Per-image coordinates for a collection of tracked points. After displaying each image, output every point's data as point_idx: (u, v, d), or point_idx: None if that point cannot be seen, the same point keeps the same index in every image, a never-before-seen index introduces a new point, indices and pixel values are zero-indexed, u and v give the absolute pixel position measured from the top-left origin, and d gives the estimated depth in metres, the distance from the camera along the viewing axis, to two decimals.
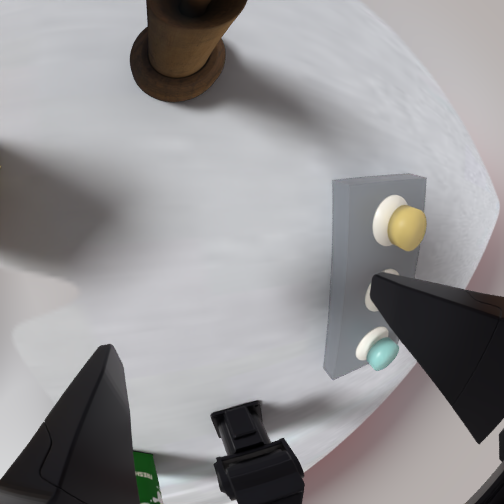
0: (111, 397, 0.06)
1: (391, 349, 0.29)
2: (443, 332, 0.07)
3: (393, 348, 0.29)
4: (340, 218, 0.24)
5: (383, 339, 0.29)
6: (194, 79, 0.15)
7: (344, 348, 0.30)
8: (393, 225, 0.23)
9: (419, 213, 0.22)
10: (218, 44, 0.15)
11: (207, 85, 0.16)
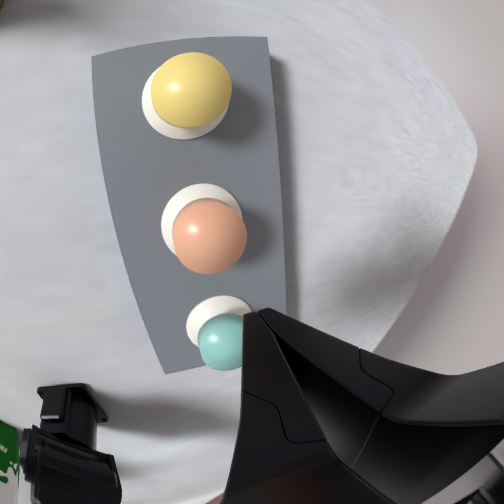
0: None
1: (234, 335, 0.18)
2: (319, 400, 0.06)
3: (239, 334, 0.18)
4: None
5: (221, 315, 0.19)
6: None
7: (157, 323, 0.19)
8: None
9: (203, 59, 0.11)
10: None
11: None
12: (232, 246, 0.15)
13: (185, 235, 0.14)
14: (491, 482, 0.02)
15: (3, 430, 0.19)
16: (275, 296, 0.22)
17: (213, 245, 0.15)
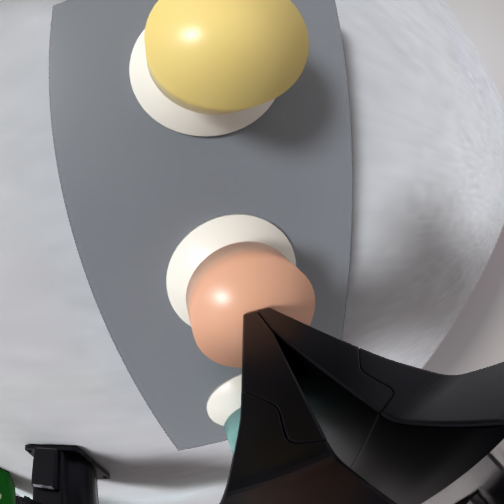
0: None
1: None
2: (318, 401, 0.05)
3: None
4: None
5: None
6: None
7: (166, 405, 0.13)
8: None
9: None
10: None
11: None
12: None
13: (213, 317, 0.08)
14: (490, 482, 0.02)
15: None
16: None
17: None
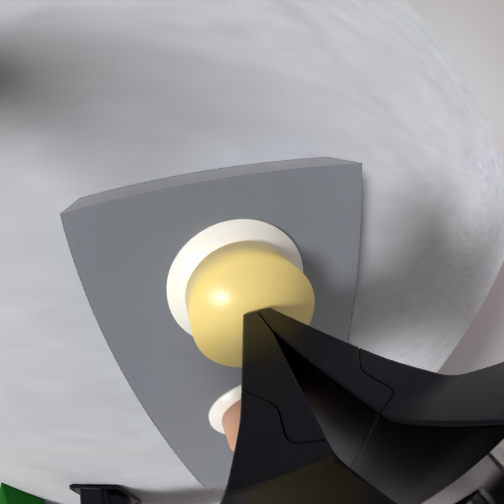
0: None
1: None
2: (319, 400, 0.06)
3: None
4: None
5: None
6: None
7: (202, 468, 0.15)
8: (187, 305, 0.09)
9: (275, 272, 0.08)
10: None
11: None
12: None
13: None
14: (490, 482, 0.02)
15: (32, 502, 0.15)
16: None
17: None
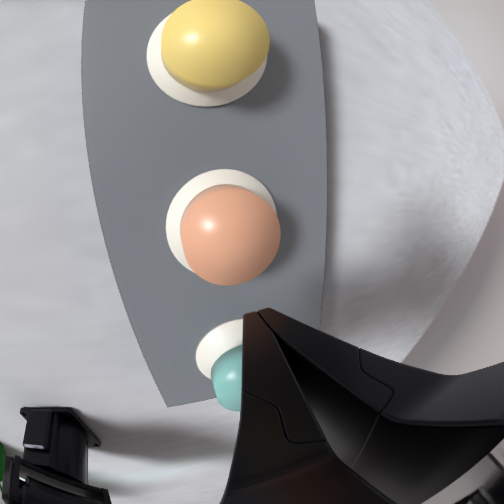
0: None
1: None
2: (318, 400, 0.06)
3: None
4: None
5: None
6: None
7: (158, 351, 0.15)
8: None
9: (233, 5, 0.07)
10: None
11: None
12: (260, 249, 0.12)
13: (199, 233, 0.11)
14: (491, 482, 0.02)
15: None
16: (308, 318, 0.17)
17: (236, 247, 0.11)
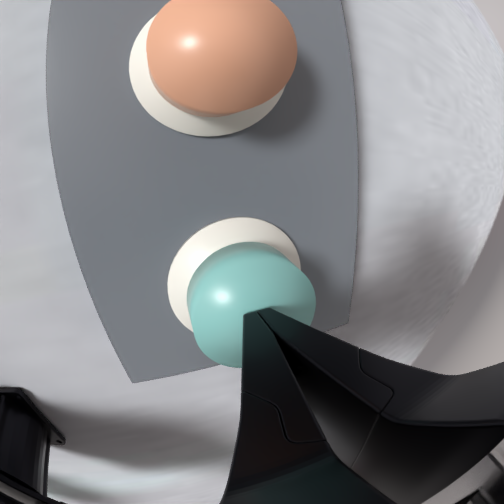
0: None
1: (269, 284, 0.08)
2: (318, 400, 0.06)
3: (280, 281, 0.08)
4: None
5: (240, 245, 0.09)
6: None
7: (108, 276, 0.09)
8: None
9: None
10: None
11: None
12: (268, 60, 0.06)
13: (173, 27, 0.05)
14: (491, 482, 0.02)
15: None
16: (340, 230, 0.11)
17: (230, 51, 0.06)
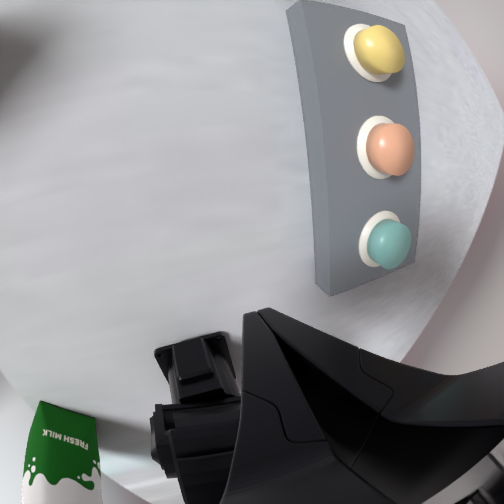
0: None
1: (400, 232, 0.21)
2: (319, 400, 0.06)
3: (403, 231, 0.21)
4: (300, 40, 0.16)
5: (386, 219, 0.22)
6: None
7: (339, 235, 0.21)
8: (358, 40, 0.15)
9: (389, 33, 0.14)
10: None
11: None
12: (407, 156, 0.18)
13: (386, 143, 0.17)
14: (491, 482, 0.02)
15: (79, 422, 0.22)
16: (413, 216, 0.24)
17: (399, 153, 0.18)
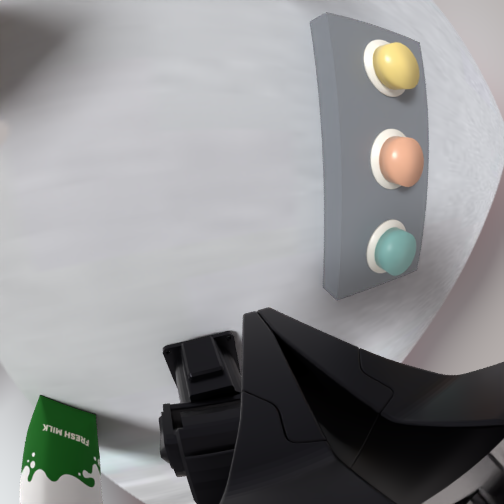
0: None
1: (407, 241, 0.22)
2: (318, 400, 0.06)
3: (409, 240, 0.22)
4: (323, 52, 0.17)
5: (394, 228, 0.22)
6: None
7: (349, 241, 0.22)
8: (378, 56, 0.16)
9: (407, 50, 0.15)
10: None
11: None
12: (417, 169, 0.19)
13: (399, 155, 0.18)
14: (491, 482, 0.02)
15: (80, 418, 0.22)
16: (418, 226, 0.24)
17: (410, 166, 0.19)
